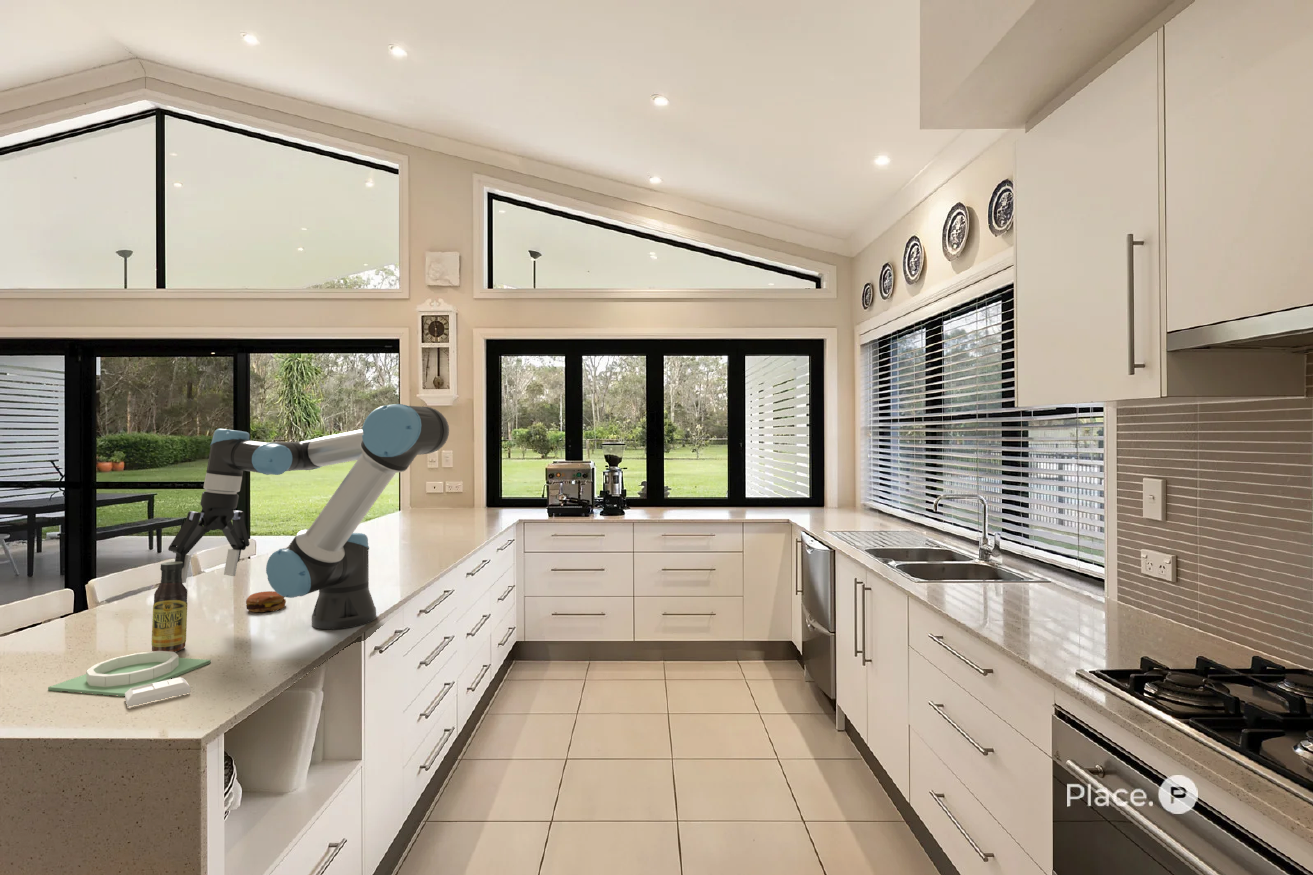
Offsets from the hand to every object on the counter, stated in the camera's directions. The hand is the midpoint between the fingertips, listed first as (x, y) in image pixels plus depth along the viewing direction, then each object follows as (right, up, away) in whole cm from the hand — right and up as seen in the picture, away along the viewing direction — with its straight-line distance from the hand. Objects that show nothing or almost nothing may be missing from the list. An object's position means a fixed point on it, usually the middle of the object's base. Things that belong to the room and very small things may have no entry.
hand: (205, 578), depth 155 cm
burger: (0, -14, +23) cm, 27 cm away
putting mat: (+4, -14, -26) cm, 30 cm away
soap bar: (+17, -14, -37) cm, 43 cm away
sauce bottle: (0, -14, -11) cm, 18 cm away
